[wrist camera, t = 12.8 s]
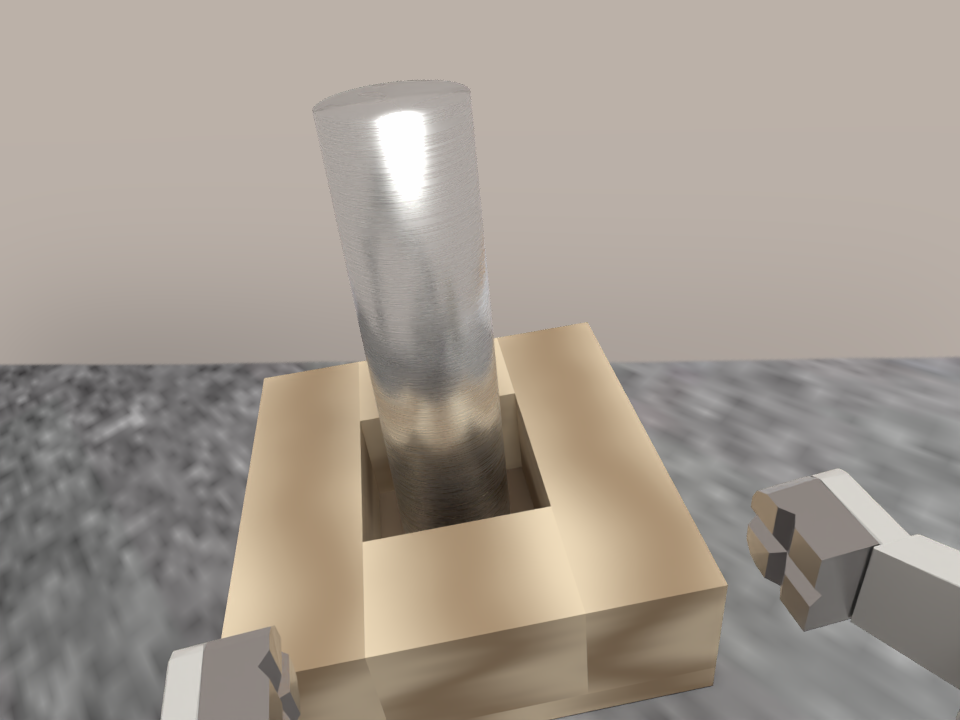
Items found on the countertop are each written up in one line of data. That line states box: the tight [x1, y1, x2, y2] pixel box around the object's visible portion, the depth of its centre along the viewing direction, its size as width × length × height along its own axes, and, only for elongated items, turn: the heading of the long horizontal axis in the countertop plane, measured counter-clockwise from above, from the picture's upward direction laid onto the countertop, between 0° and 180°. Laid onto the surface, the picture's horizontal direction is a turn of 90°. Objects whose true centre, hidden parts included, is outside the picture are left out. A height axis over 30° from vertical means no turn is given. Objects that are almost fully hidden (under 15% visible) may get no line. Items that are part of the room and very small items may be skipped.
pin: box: [313, 80, 510, 534], centre depth 22 cm, size 4×4×16 cm
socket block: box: [221, 322, 728, 720], centre depth 26 cm, size 14×14×5 cm
